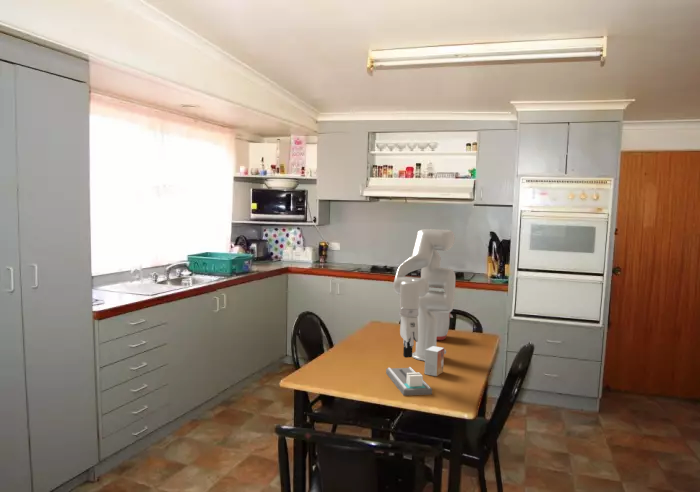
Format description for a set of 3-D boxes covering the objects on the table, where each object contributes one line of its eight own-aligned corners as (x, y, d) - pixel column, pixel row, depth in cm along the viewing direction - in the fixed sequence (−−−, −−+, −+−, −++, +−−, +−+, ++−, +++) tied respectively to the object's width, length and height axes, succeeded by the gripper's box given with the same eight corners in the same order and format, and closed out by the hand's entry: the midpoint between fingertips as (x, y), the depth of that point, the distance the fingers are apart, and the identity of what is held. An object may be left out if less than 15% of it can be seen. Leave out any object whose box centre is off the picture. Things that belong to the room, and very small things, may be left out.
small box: (436, 376, 202) (437, 351, 201) (423, 374, 205) (425, 349, 204) (443, 371, 209) (444, 347, 208) (431, 369, 212) (432, 345, 211)
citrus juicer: (454, 342, 258) (456, 305, 256) (422, 341, 258) (423, 303, 257) (449, 335, 273) (450, 299, 272) (418, 334, 274) (419, 298, 272)
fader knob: (418, 382, 187) (419, 372, 187) (422, 386, 184) (422, 375, 183) (406, 383, 187) (406, 372, 186) (409, 386, 183) (409, 375, 182)
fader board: (411, 372, 206) (411, 366, 206) (431, 394, 182) (432, 387, 182) (386, 373, 204) (386, 367, 204) (403, 395, 180) (403, 388, 180)
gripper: (424, 316, 187) (422, 362, 189) (412, 307, 201) (411, 350, 203) (405, 316, 185) (404, 363, 187) (394, 307, 200) (393, 351, 202)
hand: (407, 356), depth 195 cm, fingers closed
